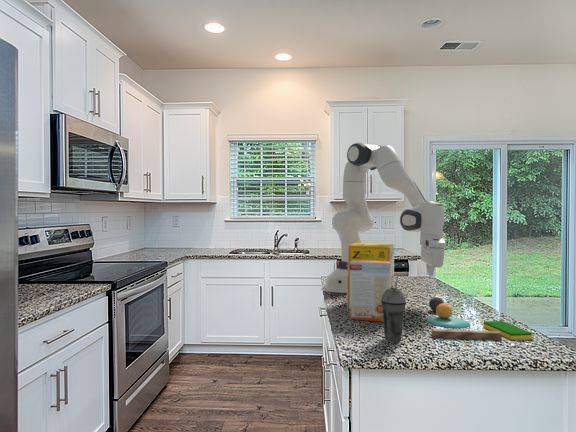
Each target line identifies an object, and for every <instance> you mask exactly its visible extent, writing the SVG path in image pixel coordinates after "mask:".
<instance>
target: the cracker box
mask: <svg viewBox="0 0 576 432" xmlns="http://www.w3.org/2000/svg"><path fill="white" fill-rule="evenodd" d="M390 288H391V262H390V261H370V260H352V261H350V308H349V320H358V321H369V322H379V323H384V320H383V308H382V302H381V300H382V295H383V293H384V292H385V291H386V290H387V289H390Z"/></svg>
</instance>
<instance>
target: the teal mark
mask: <svg viewBox="0 0 576 432" xmlns="http://www.w3.org/2000/svg"><path fill="white" fill-rule="evenodd" d="M426 321H427V322H428V323H429V324H431V325H434V326H436V327H441V328H446V329H447V328H448V329H465V328H469V327H471V322H469V321H467V320H465V319H461V318H458V317H452V316H451V317H450V318H448V319H442V318H440V317H439V316H431V317H428V318H427V319H426Z"/></svg>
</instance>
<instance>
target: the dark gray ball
mask: <svg viewBox="0 0 576 432" xmlns="http://www.w3.org/2000/svg"><path fill="white" fill-rule="evenodd" d="M442 303H445V302H444V300H443V299H442V298H441V297H438V296H434V297H432V298H431V299H430V300H429V302H428V305H429V308H430V310H431V311H434V312H436V308H437V306H438V305H439V304H442Z"/></svg>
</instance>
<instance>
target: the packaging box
mask: <svg viewBox="0 0 576 432" xmlns="http://www.w3.org/2000/svg"><path fill="white" fill-rule="evenodd" d="M352 260H370V261H390V262H391V288H395V283H394V282H395V244H393V243H371V242H370V243H369V242H367V243H366V242H362V243H354V244H351V245H348V281H347V293H346V296H347V297H346V298H347V299H346V302H347V303H346V305H347V306H346V308H347V309H350V261H352Z"/></svg>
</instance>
